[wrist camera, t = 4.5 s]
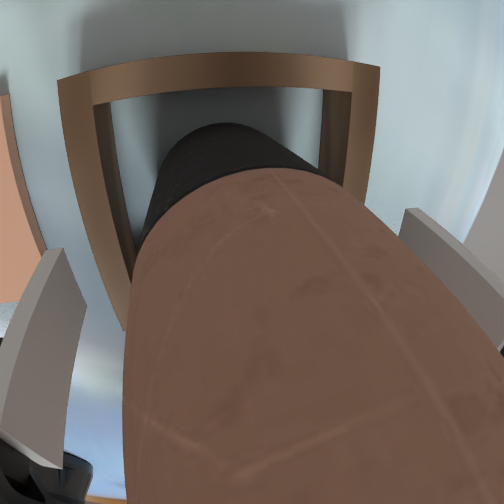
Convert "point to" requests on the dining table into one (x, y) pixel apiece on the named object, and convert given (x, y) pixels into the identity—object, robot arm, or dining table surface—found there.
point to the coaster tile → (15, 216)
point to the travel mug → (296, 346)
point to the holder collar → (200, 77)
